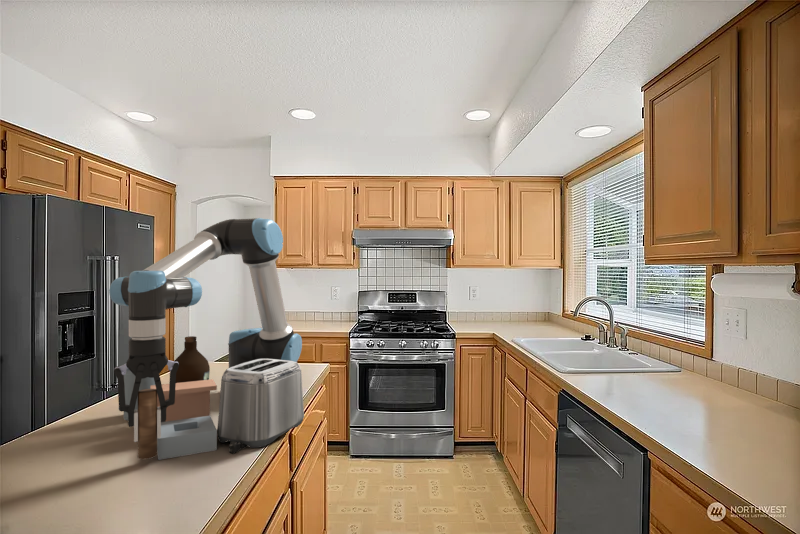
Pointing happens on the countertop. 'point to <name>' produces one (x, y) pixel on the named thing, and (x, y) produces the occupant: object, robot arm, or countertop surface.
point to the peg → (147, 423)
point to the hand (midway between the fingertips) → (147, 437)
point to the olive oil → (192, 363)
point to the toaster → (259, 402)
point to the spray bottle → (129, 384)
